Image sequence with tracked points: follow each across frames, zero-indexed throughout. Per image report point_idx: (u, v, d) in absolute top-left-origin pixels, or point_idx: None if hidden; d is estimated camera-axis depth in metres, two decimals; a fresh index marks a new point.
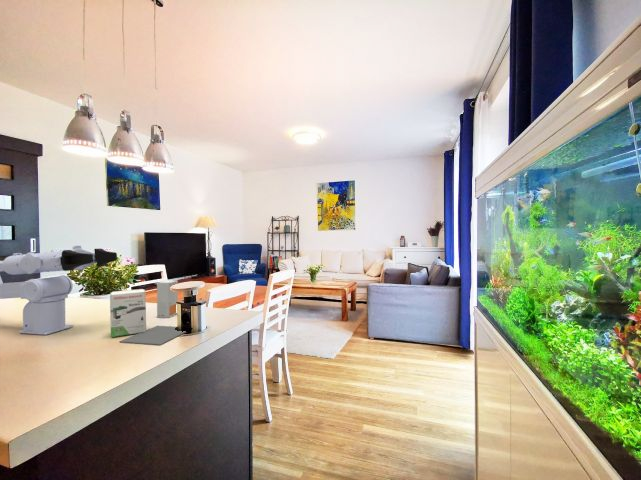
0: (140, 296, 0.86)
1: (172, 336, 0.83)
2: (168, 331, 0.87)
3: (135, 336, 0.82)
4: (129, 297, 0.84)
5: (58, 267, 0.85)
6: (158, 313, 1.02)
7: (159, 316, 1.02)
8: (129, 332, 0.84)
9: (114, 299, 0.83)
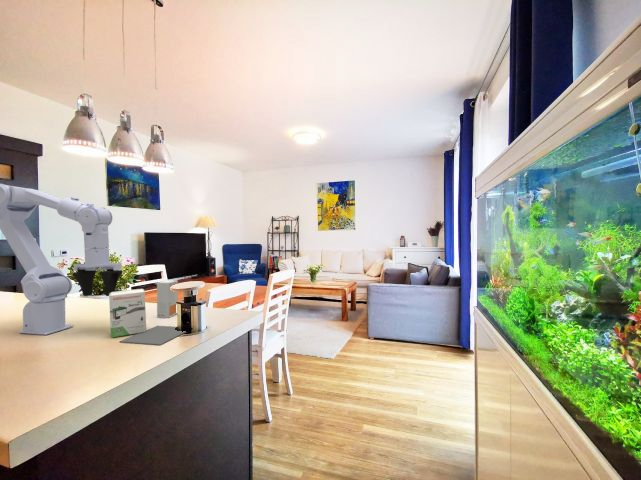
0: (139, 296, 0.86)
1: (172, 336, 0.83)
2: (168, 331, 0.87)
3: (135, 336, 0.82)
4: (128, 297, 0.84)
5: (97, 250, 0.86)
6: (158, 313, 1.02)
7: (159, 316, 1.02)
8: (129, 332, 0.84)
9: (113, 300, 0.82)
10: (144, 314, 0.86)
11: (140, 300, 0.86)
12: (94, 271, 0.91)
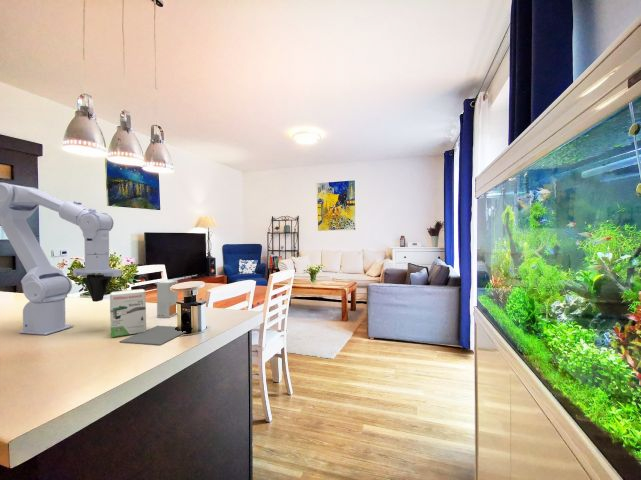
0: (140, 296, 0.86)
1: (172, 336, 0.83)
2: (168, 331, 0.87)
3: (135, 336, 0.82)
4: (129, 297, 0.84)
5: (98, 256, 0.86)
6: (158, 313, 1.02)
7: (159, 316, 1.02)
8: (129, 332, 0.84)
9: (114, 299, 0.83)
10: (144, 314, 0.86)
11: (141, 300, 0.86)
12: None
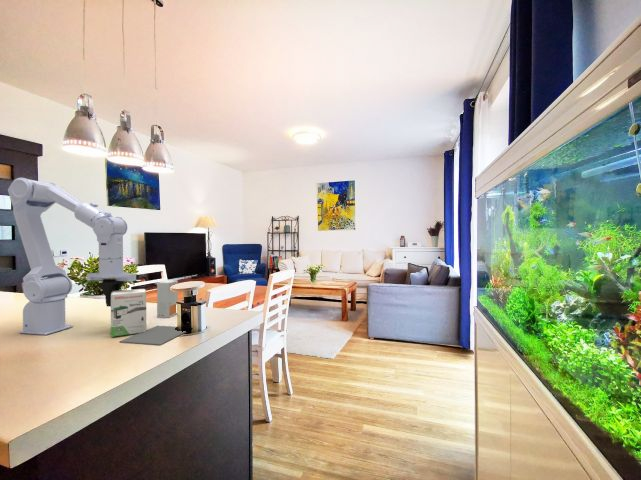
0: (141, 296, 0.86)
1: (172, 336, 0.83)
2: (168, 331, 0.87)
3: (135, 336, 0.82)
4: (130, 297, 0.84)
5: (112, 260, 0.85)
6: (158, 313, 1.02)
7: (159, 316, 1.02)
8: (129, 332, 0.84)
9: (115, 299, 0.82)
10: (145, 314, 0.86)
11: (141, 300, 0.86)
12: None
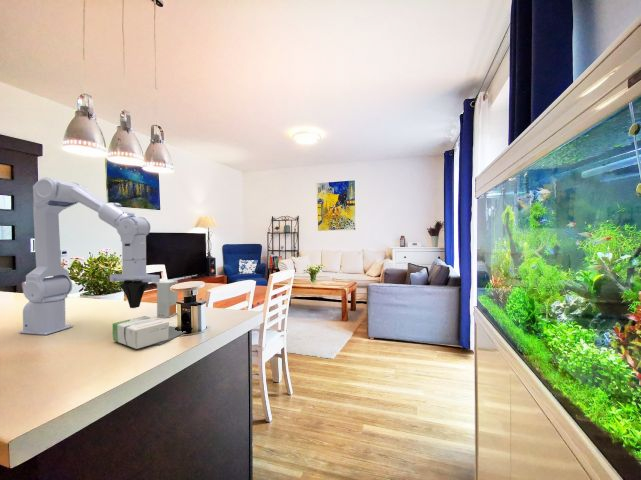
0: None
1: (172, 336, 0.83)
2: None
3: None
4: None
5: (136, 262, 0.84)
6: (158, 313, 1.02)
7: (159, 316, 1.02)
8: None
9: None
10: None
11: None
12: None
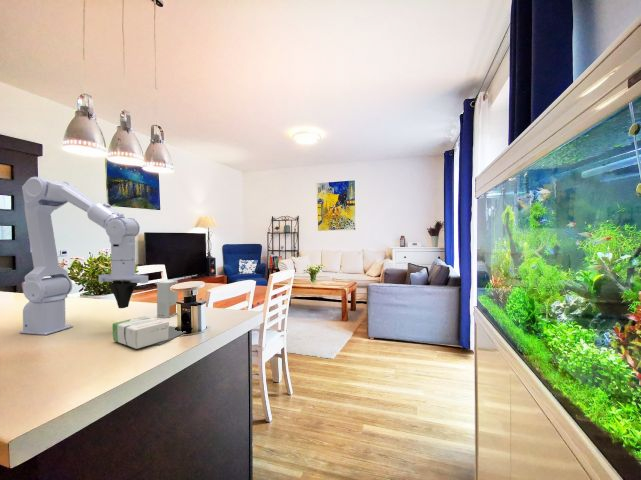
0: None
1: (172, 336, 0.83)
2: None
3: None
4: None
5: (124, 262, 0.84)
6: (158, 313, 1.02)
7: (159, 316, 1.02)
8: None
9: None
10: None
11: None
12: None
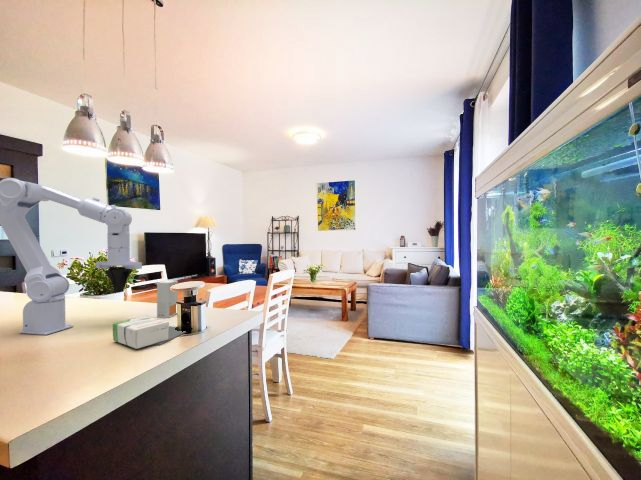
0: None
1: (172, 336, 0.83)
2: None
3: None
4: None
5: (120, 249, 0.91)
6: (158, 313, 1.02)
7: (159, 316, 1.02)
8: None
9: None
10: None
11: None
12: None
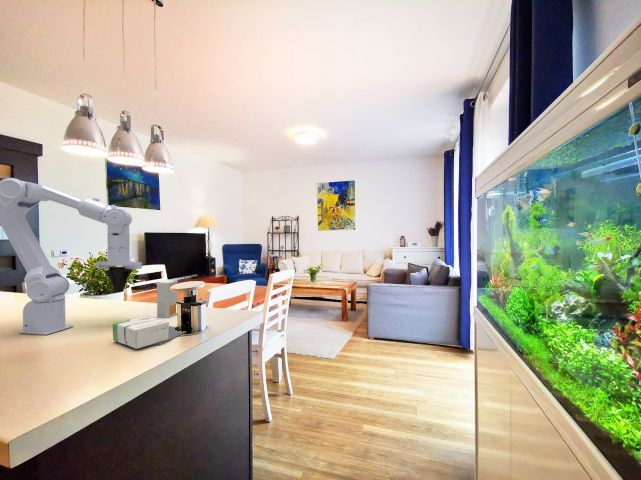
0: None
1: (172, 336, 0.83)
2: None
3: None
4: None
5: (120, 249, 0.91)
6: (158, 313, 1.02)
7: (159, 316, 1.02)
8: None
9: None
10: None
11: None
12: None
